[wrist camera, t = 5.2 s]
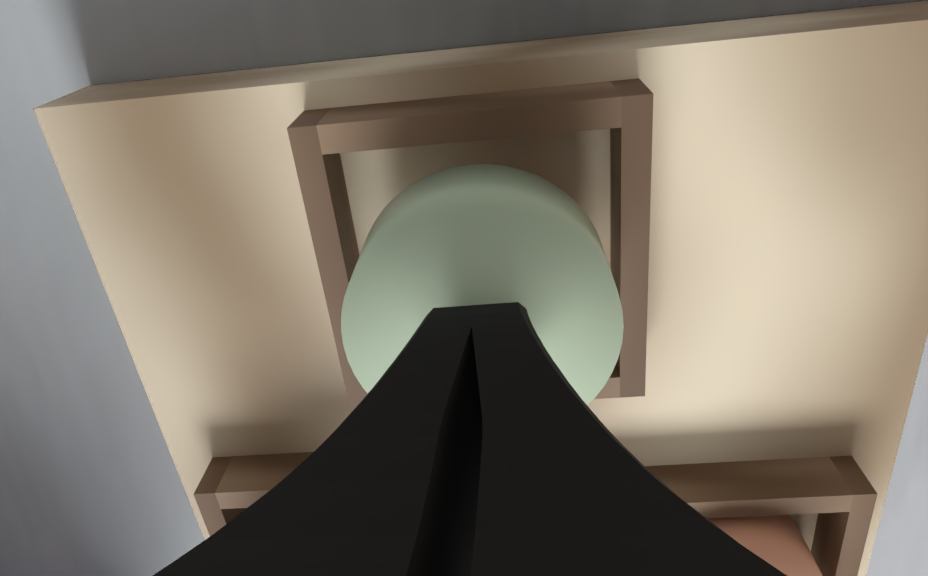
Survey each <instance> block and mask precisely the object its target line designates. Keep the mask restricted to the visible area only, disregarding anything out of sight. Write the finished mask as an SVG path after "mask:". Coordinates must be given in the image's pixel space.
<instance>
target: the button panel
mask: <svg viewBox="0 0 928 576" xmlns="http://www.w3.org/2000/svg"><path fill="white" fill-rule="evenodd" d="M34 112H35V114H36V117H37V119H38V122H39V124H40V127H41V129H42V132H43V134H44V137H45V139H46V142H47V144H48V147H49V149H50V152H51V155H52V157H53V160H54V162H55V165H56V167H57V170H58V172H59V175H60V177H61V180H62V182H63V185H64V187H65V190H66V192H67V195H68V197H69V200H70V202H71V205H72V207H73V210H74V212H75V215H76V217H77V220H78V222H79V225H80V228H81V230H82V233H83V235H84V238H85V240H86V243H87V245H88V248H89V250H90V253H91V255H92V258H93V260H94V263H95V265H96V268H97V270H98V273H99V275H100V278H101V280H102V283H103V285H104V288H105V290H106V293H107V295H108V298H109V301H110V303H111V306H112V308H113V311H114V313H115V316H116V318H117V321H118V323H119V326H120V328H121V331H122V333H123V336H124V338H125V341H126V343H127V346H128V348H129V351H130V353H131V356H132V358H133V361H134V363H135V366H136V369H137V371H138V374H139V376H140V379H141V381H142V384H143V386H144V389H145V391H146V394H147V396H148V399H149V401H150V404H151V406H152V409H153V411H154V414H155V416H156V419H157V421H158V424H159V426H160V429H161V431H162V434H163V436H164V439H165V442H166V444H167V447H168V449H169V452H170V454H171V457H172V459H173V462H174V464H175V467H176V469H177V472H178V474H179V477H180V479H181V482H182V484H183V487H184V489H185V492H186V494H187V497H188V499H189V502H190V504H191V507H192V509H193V512H194V515H195V517H196V520H197V522H198V525H199V527H200V530H201V532H202V535H203V537H204V540H206V539H207V538H209V537H210V536H212V535H213V534H214V533H216V532H217V531H218V530H219V529H221V528H222V527H223V526H225V525H226V524H227V523H228V522H230V521H231V520H232V519H234V518H235V517H236V516H237V515H239V514H240V513H241V512H243V511H244V510H245V509H247V508H248V507H249V506H250V505H252V504H253V503H254V502H256V501H257V500H258V499H259V498H261V497H262V496H263V495H265V494H266V493H267V492H268V491H270V490H271V489H272V488H274V487H275V486H276V485H277V484H278V483H279V482H281V481H282V480H283V479H284V478H285V477H287V476H288V475H289V474H290V473H291V472H292V471H293V470H294V469H295V468H297V467H298V466H299V465H300V464H301V463H302V462H303V461H304V460H305V459H306V458H308V457H309V456H310V455H311V454H312V453H313V452H314V451H315V450H316V449H317V448H318V447H319V446H320V445H321V444H322V443H323V442H324V441H325V440H326V439H327V438H328V437H329V436H330V435H331V434H332V433H333V432H334V431H335V430H336V429H337V428H338V427H339V425H340V424H341V423H342V422H343V421H344V420H345V419H346V418H347V417H348V415H349V414H350V413H351V412H352V411H353V410H354V409H355V408H356V407H357V405H358V404H359V403H360V402H361V401H362V400H363V399H364V398H365V396H366V395H367V394H368V393H367V392H366V391H365V390H364V389H363V387H362V386H361V384H360V383H359V381H358V380H357V378H356V376H355V375H354V373H353V371H352V369H351V366H350V364H349V362H348V360H347V356H346V353H345V350H344V346H343V340H342V333H341V312H342V306H343V300H344V296H345V293H346V290H347V287H348V284H349V282H350V279H351V276H352V274H353V271H354V269H355V266H356V264H357V261H358V259H359V256H360V253H361V251H362V248H363V246H364V243H365V241H366V238H367V236H368V233H369V231H370V229H371V227H372V225H373V224H374V222H375V220H376V219H377V217H378V216H379V214H380V213H381V212H382V210H383V209H384V208H385V207H386V205H387V204H388V203H389V202H390V201H391V200H392V199H393V198H394V197H395V196H396V195H398V194H399V193H400V192H401V191H403V190H404V189H405V188H406V187H408V186H410V185H411V184H413V183H414V182H416V181H418V180H419V179H421V178H423V177H426V176H428V175H430V174H433V173H435V172H438V171H441V170H445V169H448V168H452V167H457V166H463V165H470V164H493V165H503V166H509V167H513V168H517V169H522V170H525V171H527V172H530V173H533V174H535V175H538V176H540V177H542V178H544V179H546V180H548V181H549V182H551V183H553V184H555V185H556V186H557V187H559V188H560V189H562V190H563V191H564V192H566V193H567V194H568V195H569V196H570V197H571V198H572V199H573V200H574V201H576V202H577V203H578V204H579V206H580V207H581V208H582V209H583V211H584V212H585V213H586V214H587V216H588V217H589V219H590V220H591V222H592V224H593V226H594V227H595V229H596V231H597V233H598V236H599V238H600V241H601V244H602V246H603V249H604V252H605V255H606V258H607V261H608V264H609V267H610V270H611V273H612V276H613V279H614V281H615V284H616V287H617V290H618V293H619V297H620V301H621V306H622V310H623V324H624V328H623V340H622V345H621V350H620V354H619V358H618V360H617V363H616V365H615V367H614V370H613V372H612V374H611V376H610V377H609V379H608V381H607V382H606V384H605V386H604V387H603V388H602V390H601V391H600V392H599V393H598V395H597V396H596V397H595V398H594V399H593V400H592V401H591V402H590V403H589V404H588V405H587V406H588V407H589V408H590V409H591V410H592V412H593V413H594V414H595V415H596V416H597V418H598V419H599V420H600V421H601V422H602V423H603V424H604V425H605V427H606V428H607V429H608V430H609V431H610V432H611V433H612V434H613V435H614V436H615V437H616V438H617V439H618V440H619V441H620V443H621V444H622V445H623V446H624V447H625V448H626V449H627V450H629V451H630V452H631V453H632V454H633V455H634V456H635V457H636V458H637V459H638V460H639V461H640V462H641V463H642V464H643V465H644V466H645V467H646V468H647V469H648V470H649V471H651V472H652V473H653V474H654V475H655V476H656V477H657V478H658V479H659V480H661V481H662V482H663V483H664V484H665V485H666V486H667V487H668V488H670V489H671V490H672V491H673V492H674V493H675V494H676V495H678V496H679V497H680V498H681V499H682V500H684V501H685V502H686V503H688V504H689V505H690V506H692V507H693V508H694V509H695V510H697V511H698V512H699V513H701V514H702V515H703V516H704V517H706V518H726V517H748V516H770V515H789V516H790V517H791V518H792V519H793V521H794V522H795V523H796V525H797V526H798V528H799V530H800V532H801V534H802V536H803V538H804V540H805V542H806V544H807V546H808V548H809V550H810V552H811V554H812V556H813V558H814V560H815V562H816V564H817V566H818V568H819V570H820V572H821V574H822V576H866V572H867V568H868V565H869V561H870V557H871V553H872V549H873V545H874V541H875V537H876V533H877V529H878V525H879V521H880V518H881V514H882V510H883V506H884V502H885V498H886V494H887V490H888V486H889V482H890V478H891V475H892V471H893V467H894V463H895V459H896V455H897V451H898V447H899V443H900V439H901V435H902V432H903V428H904V424H905V420H906V416H907V412H908V408H909V404H910V400H911V396H912V392H913V388H914V385H915V381H916V377H917V373H918V369H919V365H920V361H921V357H922V353H923V349H924V345H925V342H926V338H927V334H928V0H927V1H917V2H908V3H898V4H888V5H878V6H868V7H858V8H849V9H839V10H829V11H819V12H809V13H799V14H789V15H780V16H770V17H760V18H750V19H740V20H730V21H721V22H711V23H701V24H691V25H681V26H671V27H661V28H652V29H642V30H632V31H622V32H612V33H602V34H593V35H583V36H573V37H563V38H553V39H543V40H533V41H524V42H514V43H504V44H494V45H484V46H474V47H465V48H455V49H445V50H435V51H425V52H415V53H406V54H396V55H386V56H376V57H366V58H356V59H346V60H337V61H327V62H317V63H307V64H297V65H287V66H278V67H268V68H258V69H248V70H238V71H228V72H218V73H209V74H199V75H189V76H179V77H169V78H159V79H150V80H140V81H130V82H120V83H110V84H100V85H91V86H87V87H85V88H83V89H80V90H78V91H75V92H73V93H70V94H68V95H66V96H63V97H61V98H58V99H56V100H53V101H51V102H49V103H46V104H44V105H41V106H39V107H36V108H34Z"/></svg>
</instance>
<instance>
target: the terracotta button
mask: <svg viewBox="0 0 928 576" xmlns="http://www.w3.org/2000/svg"><path fill="white" fill-rule="evenodd" d="M707 519H708V520H710V521H711V522H712V523H714V524H715V525H716V526H717V527H719V528H720V529H721V530H723V531H724V532H725V533H727V534H728V535H729V536H730V537H732V538H733V539H734V540H736V541H737V542H738V543H740V544H741V545H742V546H744V547H745V548H747V549H748V550H750V551H751V552H753V553H754V554H756V555H757V556H759V557H760V558H762V559H763V560H765V561H766V562H768V563H769V564H771V565H772V566H774V567H775V568H777V569H778V570H780V571H781V572H783V573H784V574H785V575H787V576H822V574H821V572H820V570H819V568H818V566H817V564H816V562H815V560H814V558H813V556H812V554H811V552H810V550H809V548H808V546H807V544H806V542H805V540H804V538H803V536H802V534H801V532H800V530H799V528H798V526H797V525H796V523H795V522H794V521H793V519H792V518H791V517H790V516H789V515H770V516H748V517H726V518H707Z"/></svg>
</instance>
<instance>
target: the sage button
mask: <svg viewBox="0 0 928 576" xmlns="http://www.w3.org/2000/svg"><path fill="white" fill-rule="evenodd" d="M510 302H519V303H520V304H521V305H523V306H524V307H525V308H526V309H527V313H528V316H529V318H530V321H531V323H532V325H533V327H534V329H535V331H536V333H537V335H538V337H539V338H540V340H541V342H542V343H543V345H544V347H545V348H546V350H547V352H548V353H549V355H550V356H551V358H552V359H553V361H554V362H555V364H556V365H557V366H558V368H559V369H560V371H561V372H562V373H563V375H564V376H565V378H566V379H567V380H568V382H569V383H570V385H571V386H572V387H573V388H574V390H575V391H576V392H577V393H578V395H579V396H580V397H581V399H582V400H583V401H584V402H585V403H586V405H588V404H589V403H590V402H591V401H592V400H593V399H594V398H595V397H596V396H597V395H598V393H599V392H600V391H601V390H602V388H603V387H604V386H605V384H606V382H607V381H608V379H609V377H610V376H611V374H612V372H613V370H614V367H615V365H616V363H617V360H618V358H619V354H620V350H621V345H622V340H623V328H624V324H623V310H622V306H621V301H620V297H619V293H618V290H617V287H616V284H615V281H614V279H613V276H612V273H611V270H610V267H609V264H608V261H607V258H606V255H605V252H604V249H603V246H602V244H601V241H600V238H599V236H598V233H597V231H596V229H595V227H594V226H593V224H592V222H591V220H590V219H589V217H588V216H587V214H586V213H585V212H584V211H583V209H582V208H581V207H580V206H579V204H578V203H577V202H576V201H574V200H573V199H572V198H571V197H570V196H569V195H568V194H567V193H566V192H564V191H563V190H562V189H560V188H559V187H557V186H556V185H555V184H553V183H551V182H549V181H548V180H546V179H544V178H542V177H540V176H538V175H535V174H533V173H530V172H527V171H525V170H522V169H517V168H513V167H509V166H503V165H493V164H470V165H463V166H457V167H452V168H448V169H445V170H441V171H438V172H435V173H433V174H430V175H428V176H426V177H423V178H421V179H419V180H418V181H416V182H414V183H413V184H411V185H410V186H408V187H406V188H405V189H404V190H403V191H401V192H400V193H399V194H398V195H396V196H395V197H394V198H393V199H392V200H391V201H390V202H389V203H388V204H387V205H386V207H385V208H384V209H383V210H382V212H381V213H380V214H379V216H378V217H377V219H376V220H375V222H374V224H373V225H372V227H371V229H370V231H369V233H368V236H367V238H366V241H365V243H364V246H363V248H362V251H361V253H360V256H359V259H358V261H357V264H356V266H355V269H354V271H353V274H352V276H351V279H350V282H349V284H348V287H347V290H346V293H345V296H344V300H343V306H342V312H341V333H342V340H343V346H344V350H345V353H346V356H347V360H348V362H349V364H350V366H351V369H352V371H353V373H354V375H355V376H356V378H357V380H358V381H359V383H360V384H361V386H362V387H363V389H364V390H365V391H366V392H367V393H369V392H370V391H371V389H372V388H373V387H374V386H375V384H376V383H377V382H378V381H379V379H380V378H381V377H382V376H383V374H384V373H385V372H386V370H387V369H388V368H389V367H390V365H391V364H392V363H393V362H394V360H395V359H396V358H397V356H398V355H399V354H400V352H401V351H402V350H403V348H404V347H405V345H406V344H407V343H408V341H409V340H410V339H411V337H412V336H413V334H414V333H415V331H416V330H417V329H418V327H419V326H420V324H421V323H422V321H423V320H424V318H425V317H426V316H427V314H428V313H429V312H430V311H431V310H432V309H433V308H440V307H454V306H468V305H482V304H496V303H510Z"/></svg>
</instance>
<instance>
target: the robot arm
mask: <svg viewBox="0 0 928 576" xmlns="http://www.w3.org/2000/svg"><path fill="white" fill-rule="evenodd" d="M153 576H787V575H785V574H784V573H783V572H781V571H780V570H778V569H777V568H775V567H774V566H772V565H771V564H769V563H768V562H766V561H765V560H763V559H762V558H760V557H759V556H757V555H756V554H754V553H753V552H751V551H750V550H748V549H747V548H745V547H744V546H742V545H741V544H740V543H738V542H737V541H736V540H734V539H733V538H732V537H730V536H729V535H728V534H727V533H725V532H724V531H723V530H721V529H720V528H719V527H717V526H716V525H715V524H714V523H712V522H711V521H710V520H708V519H707V518H706V517H704V516H703V515H702V514H701V513H699V512H698V511H697V510H695V509H694V508H693V507H692V506H690V505H689V504H688V503H686V502H685V501H684V500H682V499H681V498H680V497H679V496H678V495H676V494H675V493H674V492H673V491H672V490H671V489H670V488H668V487H667V486H666V485H665V484H664V483H663V482H662V481H661V480H659V479H658V478H657V477H656V476H655V475H654V474H653V473H652V472H651V471H649V470H648V469H647V468H646V467H645V466H644V465H643V464H642V463H641V462H640V461H639V460H638V459H637V458H636V457H635V456H634V455H633V454H632V453H631V452H630V451H629V450H627V449H626V448H625V447H624V446H623V445H622V444H621V443H620V441H619V440H618V439H617V438H616V437H615V436H614V435H613V434H612V433H611V432H610V431H609V430H608V429H607V428H606V427H605V425H604V424H603V423H602V422H601V421H600V420H599V419H598V418H597V416H596V415H595V414H594V413H593V412H592V410H591V409H590V408H589V407H588V406H587V405H586V403H585V402H584V401H583V400H582V399H581V397H580V396H579V395H578V393H577V392H576V391H575V390H574V388H573V387H572V386H571V385H570V383H569V382H568V380H567V379H566V378H565V376H564V375H563V373H562V372H561V371H560V369H559V368H558V366H557V365H556V364H555V362H554V361H553V359H552V358H551V356H550V355H549V353H548V352H547V350H546V348H545V347H544V345H543V343H542V342H541V340H540V338H539V337H538V335H537V333H536V331H535V329H534V327H533V325H532V323H531V321H530V318H529V316H528V313H527V309H526V308H525V307H524V306H523V305H521V304H520V303H519V302H510V303H496V304H482V305H468V306H454V307H440V308H433V309H432V310H431V311H430V312H429V313H428V314H427V316H426V317H425V318H424V320H423V321H422V323H421V324H420V326H419V327H418V329H417V330H416V331H415V333H414V334H413V336H412V337H411V339H410V340H409V341H408V343H407V344H406V345H405V347H404V348H403V350H402V351H401V352H400V354H399V355H398V356H397V358H396V359H395V360H394V362H393V363H392V364H391V365H390V367H389V368H388V369H387V370H386V372H385V373H384V374H383V376H382V377H381V378H380V379H379V381H378V382H377V383H376V384H375V386H374V387H373V388H372V389H371V391H370V392H369V393H368V394H367V395H366V396H365V398H364V399H363V400H362V401H361V402H360V403H359V404H358V405H357V407H356V408H355V409H354V410H353V411H352V412H351V413H350V414H349V415H348V417H347V418H346V419H345V420H344V421H343V422H342V423H341V424H340V425H339V427H338V428H337V429H336V430H335V431H334V432H333V433H332V434H331V435H330V436H329V437H328V438H327V439H326V440H325V441H324V442H323V443H322V444H321V445H320V446H319V447H318V448H317V449H316V450H315V451H314V452H313V453H312V454H311V455H310V456H309V457H308V458H306V459H305V460H304V461H303V462H302V463H301V464H300V465H299V466H298V467H297V468H295V469H294V470H293V471H292V472H291V473H290V474H289V475H288V476H287V477H285V478H284V479H283V480H282V481H281V482H279V483H278V484H277V485H276V486H275V487H274V488H272V489H271V490H270V491H268V492H267V493H266V494H265V495H263V496H262V497H261V498H259V499H258V500H257V501H256V502H254V503H253V504H252V505H250V506H249V507H248V508H247V509H245V510H244V511H243V512H241V513H240V514H239V515H237V516H236V517H235V518H234V519H232V520H231V521H230V522H228V523H227V524H226V525H225V526H223V527H222V528H221V529H219V530H218V531H217V532H216V533H214V534H213V535H212V536H210V537H209V538H207V539H206V540H205V541H203V542H202V543H200V544H199V545H197V546H196V547H195V548H193V549H192V550H190V551H189V552H187V553H186V554H184V555H183V556H181V557H180V558H178V559H177V560H176V561H174V562H173V563H171V564H170V565H168V566H167V567H165V568H164V569H162V570H161V571H159V572H158V573H156V574H154V575H153Z"/></svg>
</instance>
